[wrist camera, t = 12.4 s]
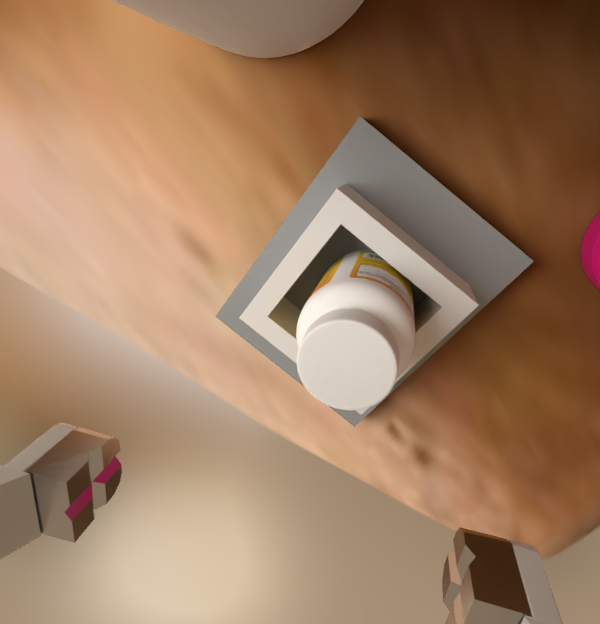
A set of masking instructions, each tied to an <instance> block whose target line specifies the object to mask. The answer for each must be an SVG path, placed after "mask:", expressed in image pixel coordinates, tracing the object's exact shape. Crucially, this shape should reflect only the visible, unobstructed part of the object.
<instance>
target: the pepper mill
mask: <svg viewBox="0 0 600 624" xmlns="http://www.w3.org/2000/svg"><path fill="white" fill-rule="evenodd" d="M581 262H582V266H583V269H584V272H585V274H586V276H587V277H588V279H589V280H590V282H591V283H592V284H593V285H594V286H595V287H596V288H598V289H599V290H600V212H599V213H598V214H597V215H596V216H595V217H594V219H593V220H592V221H591V223H590V225H589V226H588V228H587V230H586V232H585V235H584V237H583V241H582V245H581Z"/></svg>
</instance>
